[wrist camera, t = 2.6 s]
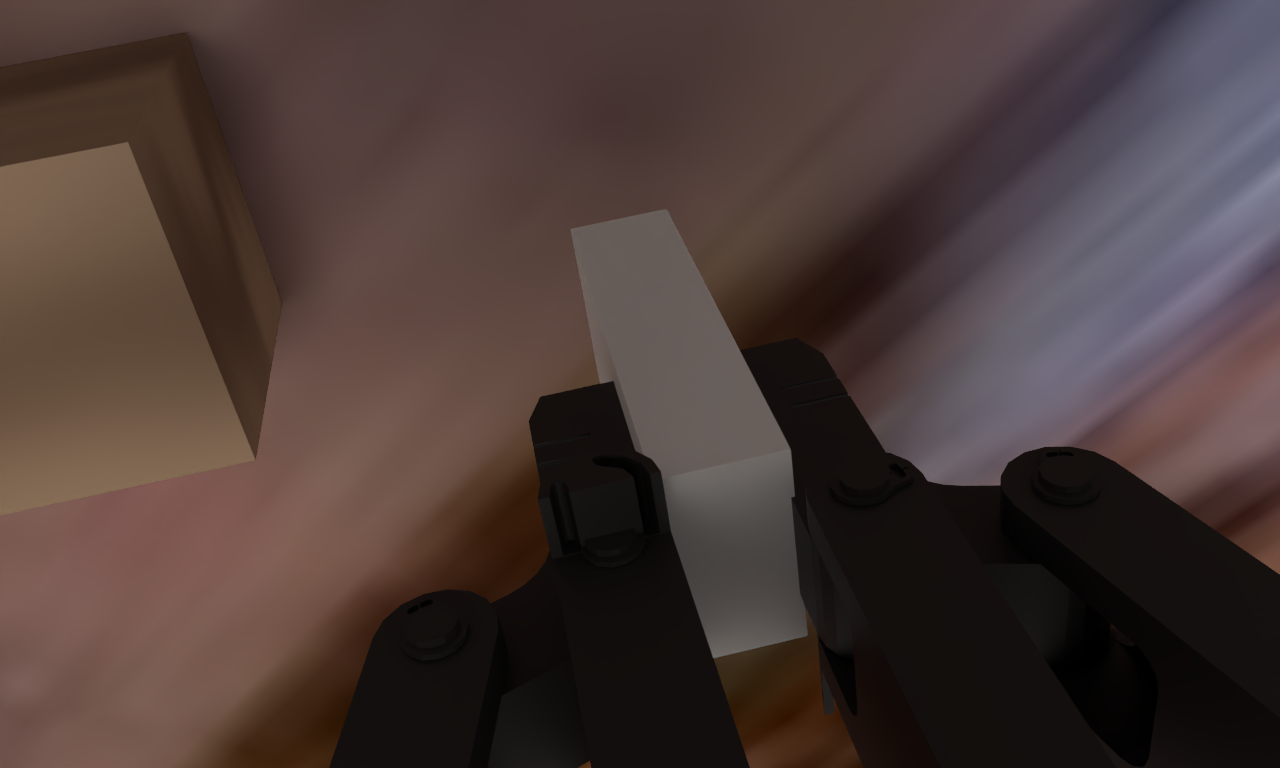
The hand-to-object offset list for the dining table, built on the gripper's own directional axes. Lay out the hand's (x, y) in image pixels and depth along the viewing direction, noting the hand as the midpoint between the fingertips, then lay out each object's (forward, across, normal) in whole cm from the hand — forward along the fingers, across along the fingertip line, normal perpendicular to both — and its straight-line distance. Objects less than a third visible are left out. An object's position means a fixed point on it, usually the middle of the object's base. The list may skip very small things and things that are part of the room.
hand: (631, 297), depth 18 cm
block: (+8, -10, 0) cm, 13 cm away
